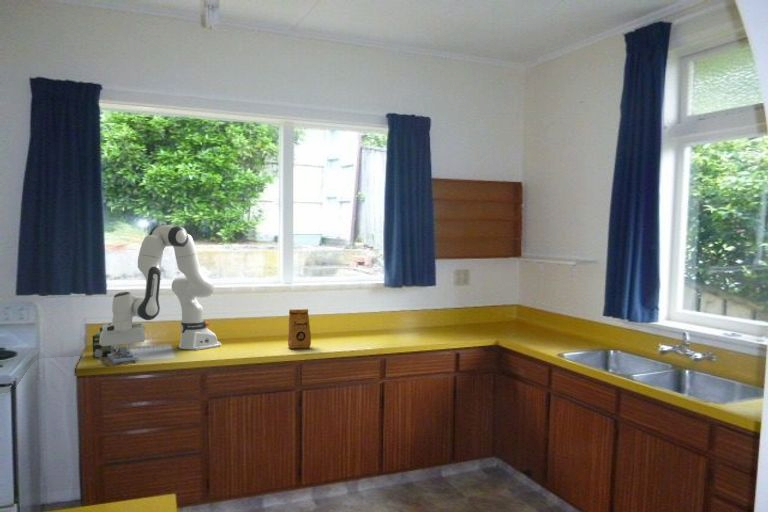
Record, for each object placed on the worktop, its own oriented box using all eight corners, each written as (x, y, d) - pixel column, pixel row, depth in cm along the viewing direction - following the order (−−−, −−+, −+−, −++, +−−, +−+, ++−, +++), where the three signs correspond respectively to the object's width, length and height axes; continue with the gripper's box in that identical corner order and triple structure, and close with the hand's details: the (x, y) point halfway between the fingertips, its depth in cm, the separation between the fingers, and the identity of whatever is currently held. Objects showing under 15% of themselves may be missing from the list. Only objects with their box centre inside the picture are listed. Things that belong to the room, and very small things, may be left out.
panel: (131, 353, 278) (131, 343, 278) (138, 359, 266) (138, 349, 266) (107, 356, 271) (107, 346, 271) (113, 362, 260) (113, 351, 259)
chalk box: (118, 353, 284) (118, 325, 283) (111, 357, 275) (110, 328, 274) (100, 353, 283) (100, 325, 282) (92, 357, 274) (91, 328, 273)
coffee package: (311, 349, 303) (312, 310, 302) (288, 350, 300) (289, 310, 298) (309, 345, 312) (309, 307, 311) (287, 346, 309) (287, 307, 308)
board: (127, 356, 278) (127, 346, 277) (135, 363, 265) (135, 352, 265) (101, 359, 270) (101, 348, 270) (107, 366, 258) (107, 355, 257)
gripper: (143, 322, 277) (143, 349, 277) (98, 326, 264) (98, 354, 265) (146, 324, 272) (146, 351, 272) (101, 328, 259) (101, 357, 260)
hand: (122, 353), depth 269 cm, fingers closed on panel, 3 cm apart
